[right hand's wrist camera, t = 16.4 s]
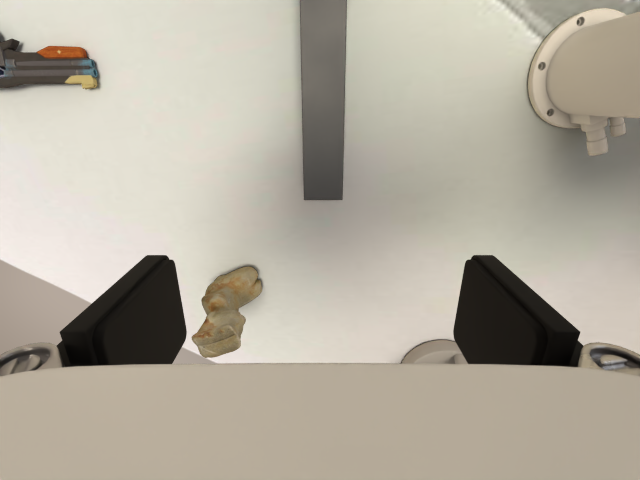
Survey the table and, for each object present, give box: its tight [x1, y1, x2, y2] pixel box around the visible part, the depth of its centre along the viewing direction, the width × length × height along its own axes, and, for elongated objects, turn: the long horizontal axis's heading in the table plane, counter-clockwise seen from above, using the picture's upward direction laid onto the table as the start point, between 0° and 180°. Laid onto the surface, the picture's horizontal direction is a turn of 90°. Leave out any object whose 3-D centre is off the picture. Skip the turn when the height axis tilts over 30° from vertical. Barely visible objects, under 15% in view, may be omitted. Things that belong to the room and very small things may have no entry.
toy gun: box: [0, 39, 98, 89], centre depth 39 cm, size 3×19×10 cm
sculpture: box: [192, 267, 262, 358], centre depth 44 cm, size 6×7×15 cm
